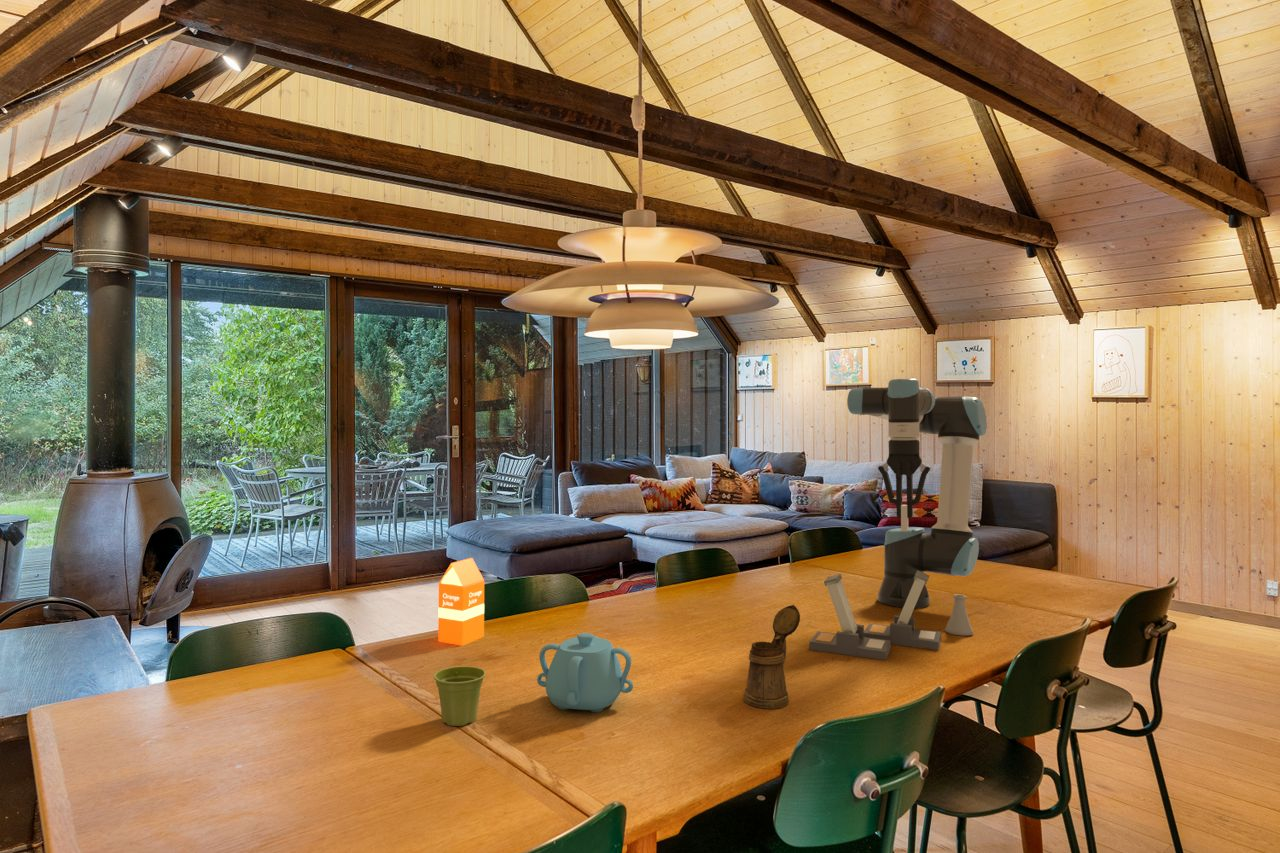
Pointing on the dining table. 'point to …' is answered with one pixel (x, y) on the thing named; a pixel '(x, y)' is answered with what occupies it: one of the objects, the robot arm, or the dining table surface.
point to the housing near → (851, 644)
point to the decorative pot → (584, 673)
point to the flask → (959, 618)
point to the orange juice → (461, 604)
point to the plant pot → (459, 693)
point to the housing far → (904, 634)
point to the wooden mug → (771, 664)
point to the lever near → (841, 603)
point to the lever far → (913, 597)
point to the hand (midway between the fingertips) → (904, 530)
